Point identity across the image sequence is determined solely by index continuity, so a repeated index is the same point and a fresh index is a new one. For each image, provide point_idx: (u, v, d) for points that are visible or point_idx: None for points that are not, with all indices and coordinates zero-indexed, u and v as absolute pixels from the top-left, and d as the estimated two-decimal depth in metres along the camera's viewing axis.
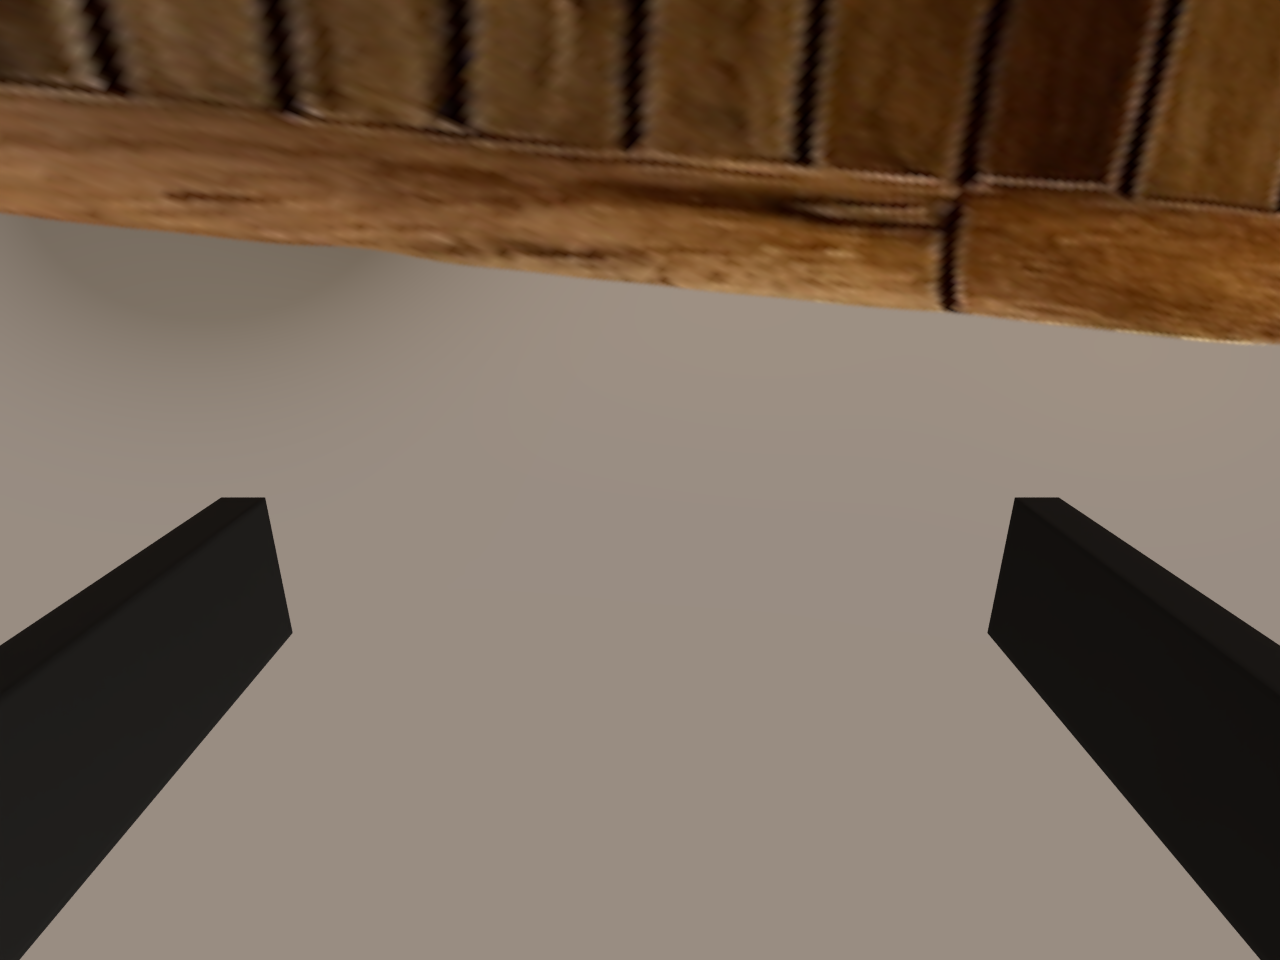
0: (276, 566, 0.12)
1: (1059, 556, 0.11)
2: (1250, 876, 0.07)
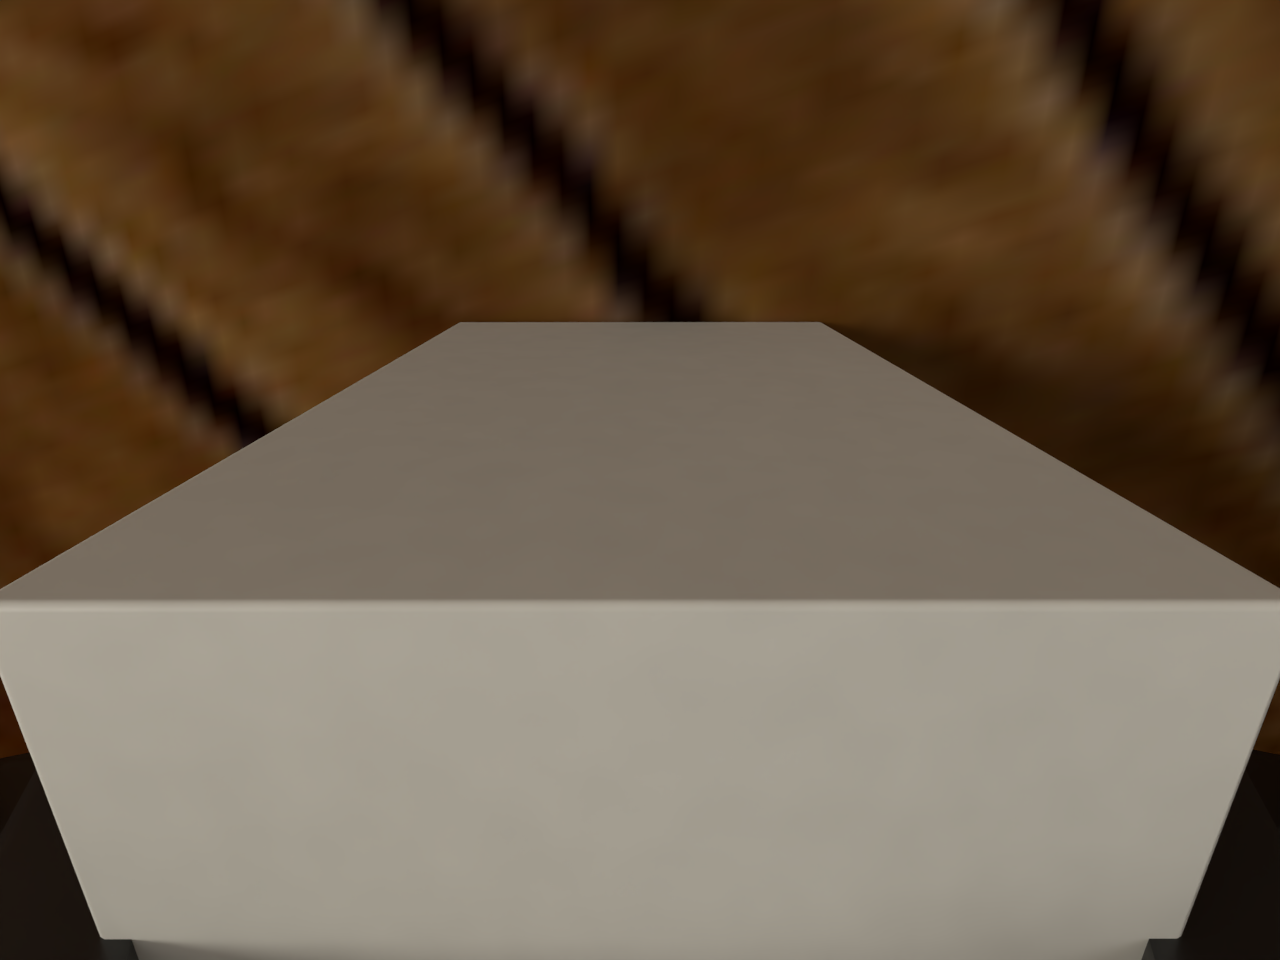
0: None
1: None
2: None
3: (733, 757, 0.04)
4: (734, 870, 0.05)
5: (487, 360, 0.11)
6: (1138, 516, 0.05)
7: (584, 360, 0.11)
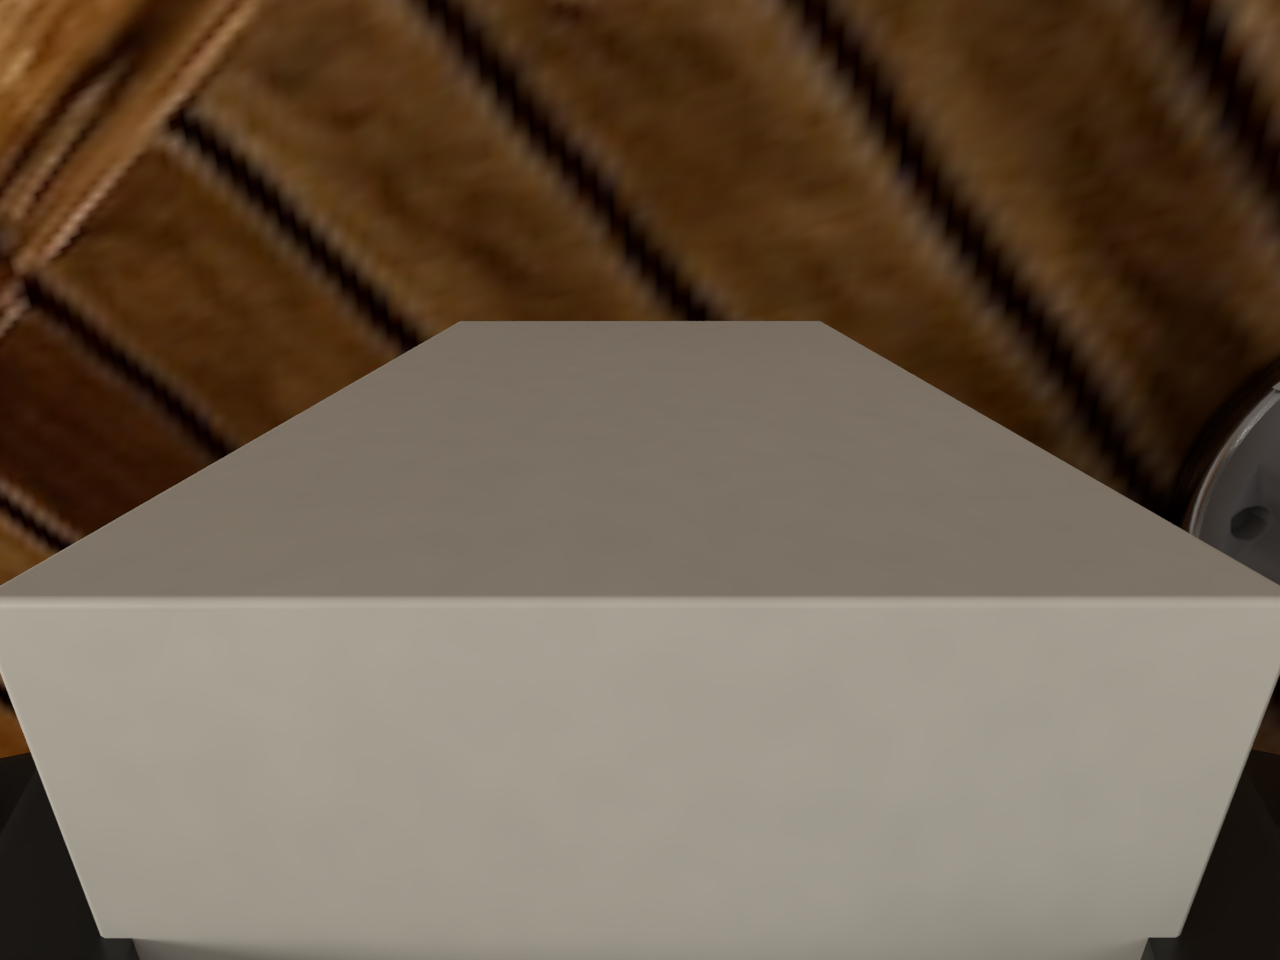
0: None
1: None
2: None
3: (733, 752, 0.04)
4: (734, 867, 0.05)
5: (487, 358, 0.11)
6: (1137, 513, 0.05)
7: (584, 359, 0.11)
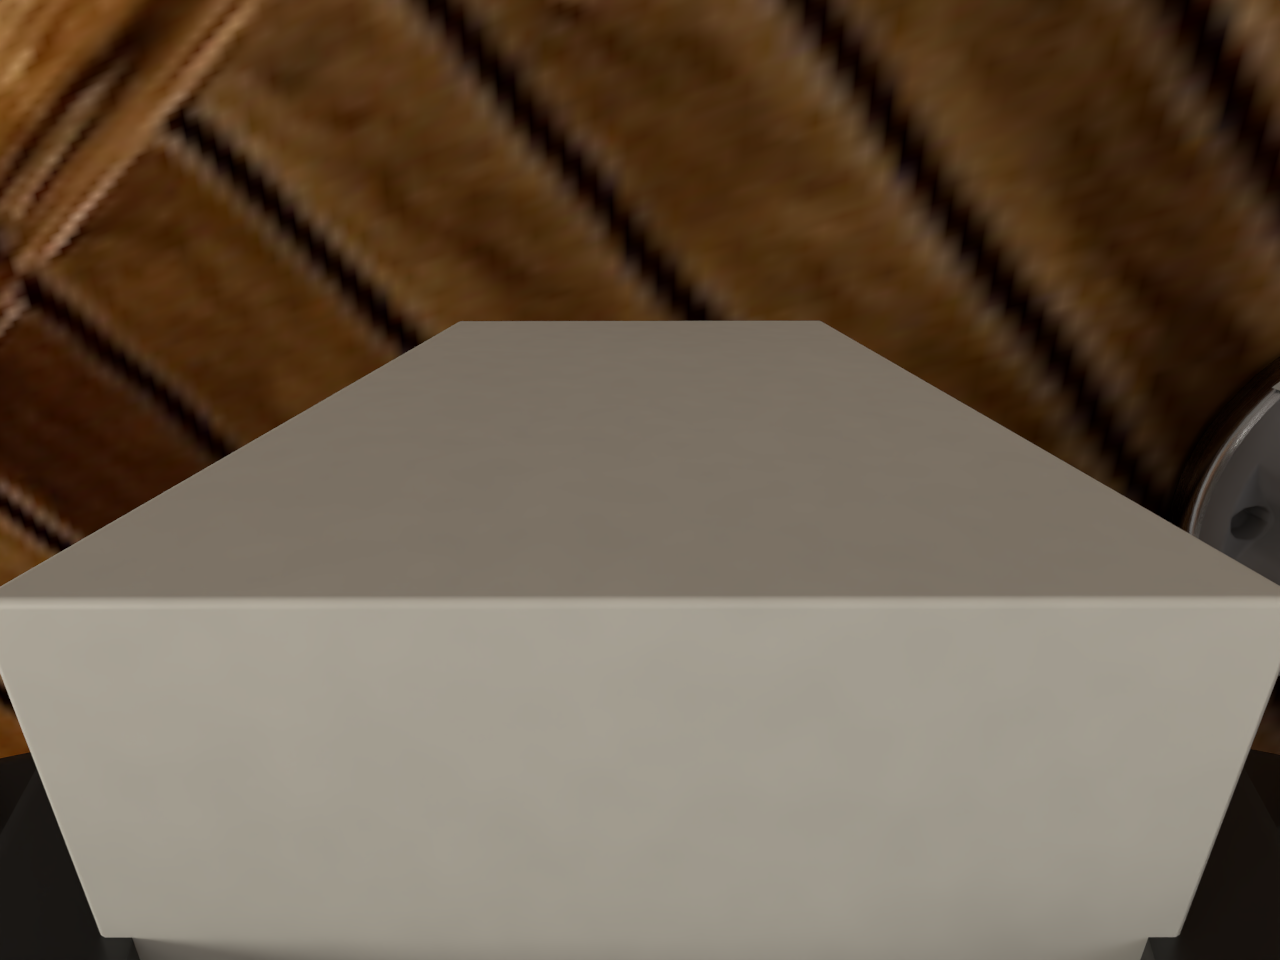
0: None
1: None
2: None
3: (733, 753, 0.04)
4: (731, 868, 0.05)
5: (487, 359, 0.11)
6: (1136, 513, 0.05)
7: (584, 359, 0.11)
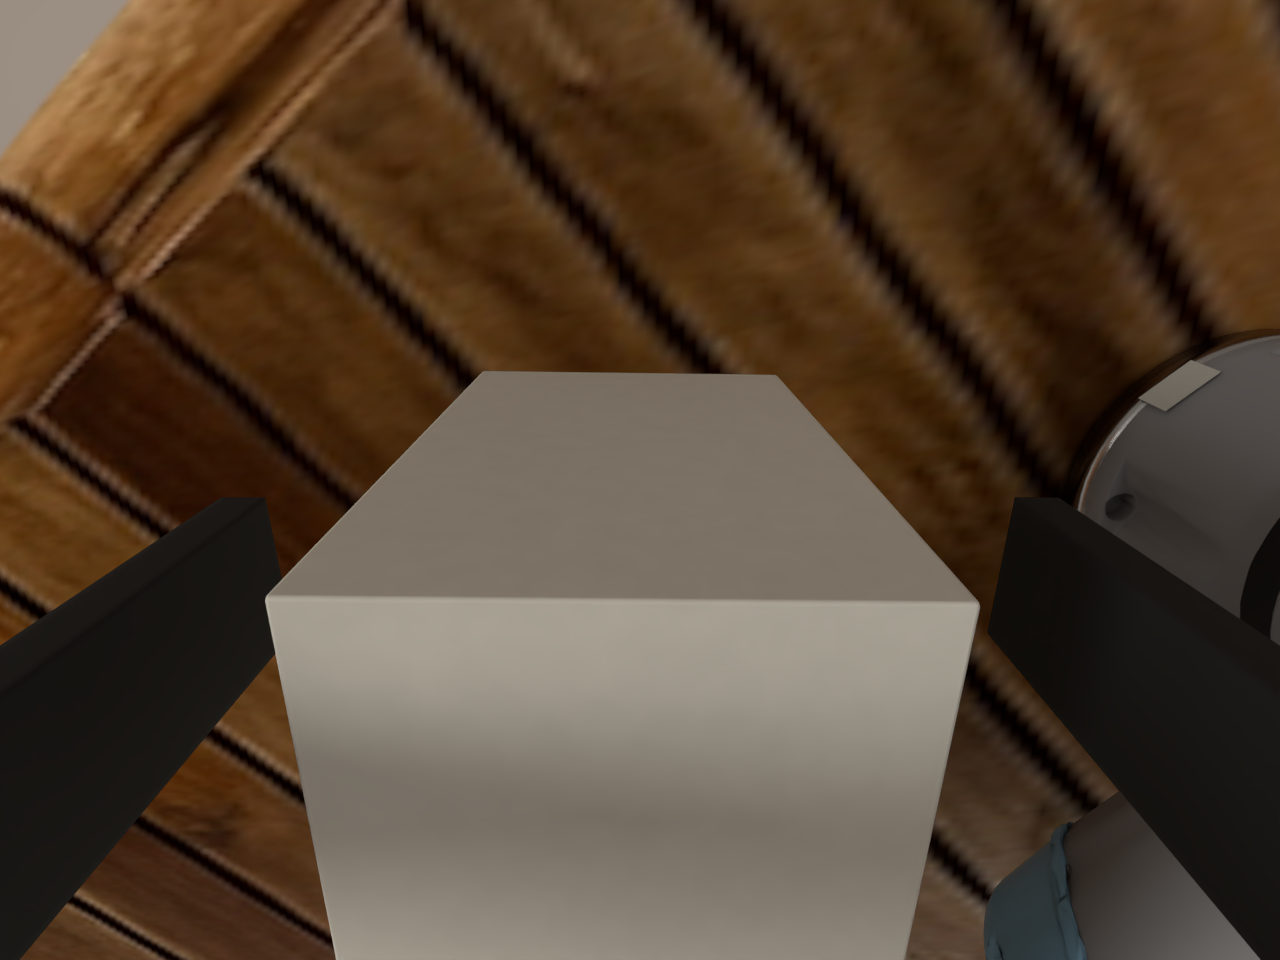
0: (275, 566, 0.12)
1: (1059, 556, 0.11)
2: (1250, 876, 0.07)
3: (677, 685, 0.08)
4: (677, 754, 0.08)
5: (513, 414, 0.14)
6: (922, 551, 0.08)
7: (586, 415, 0.14)
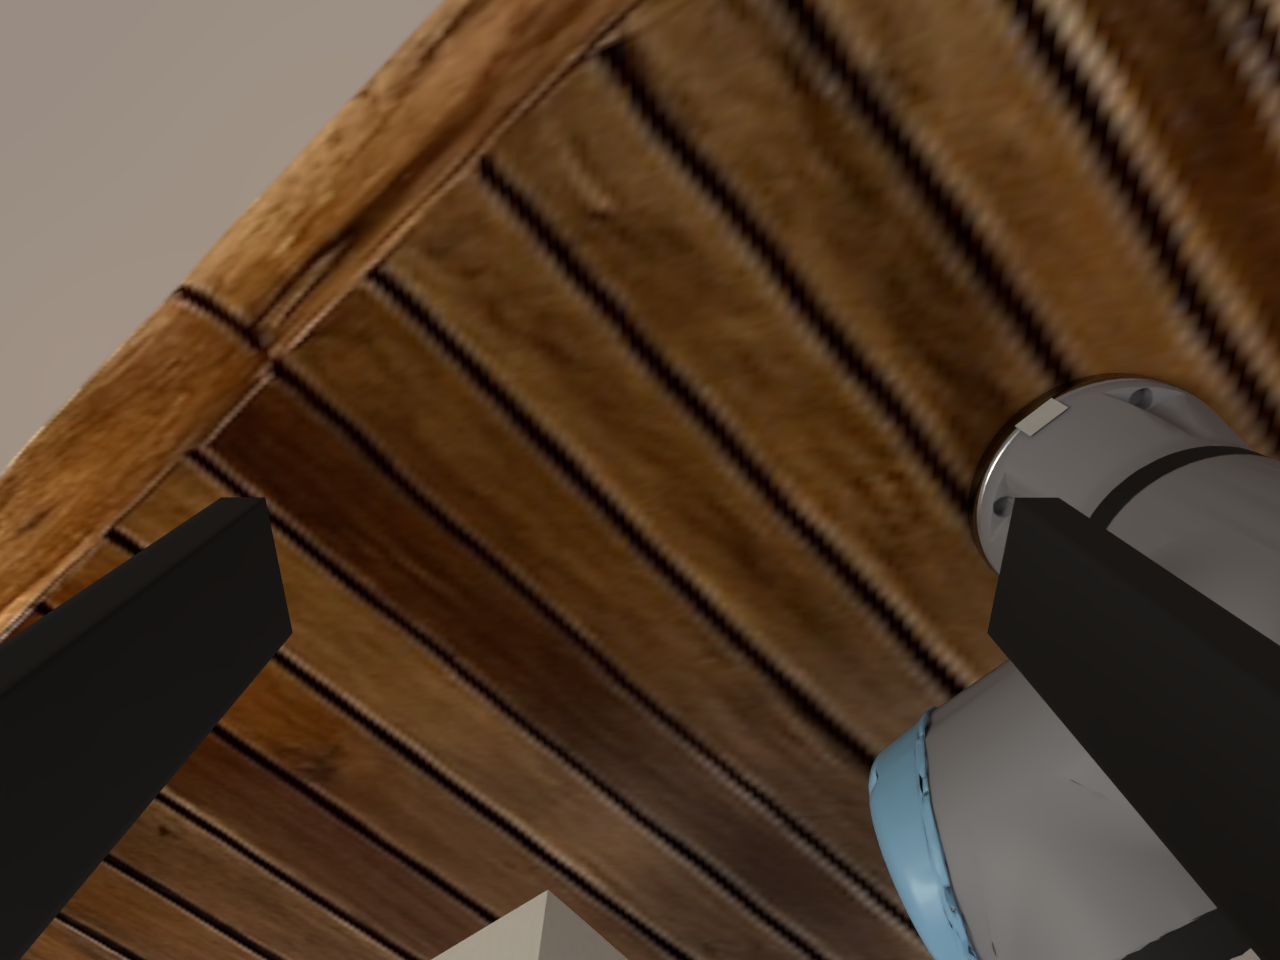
0: (275, 566, 0.12)
1: (1059, 556, 0.11)
2: (1250, 876, 0.07)
3: None
4: None
5: None
6: None
7: None
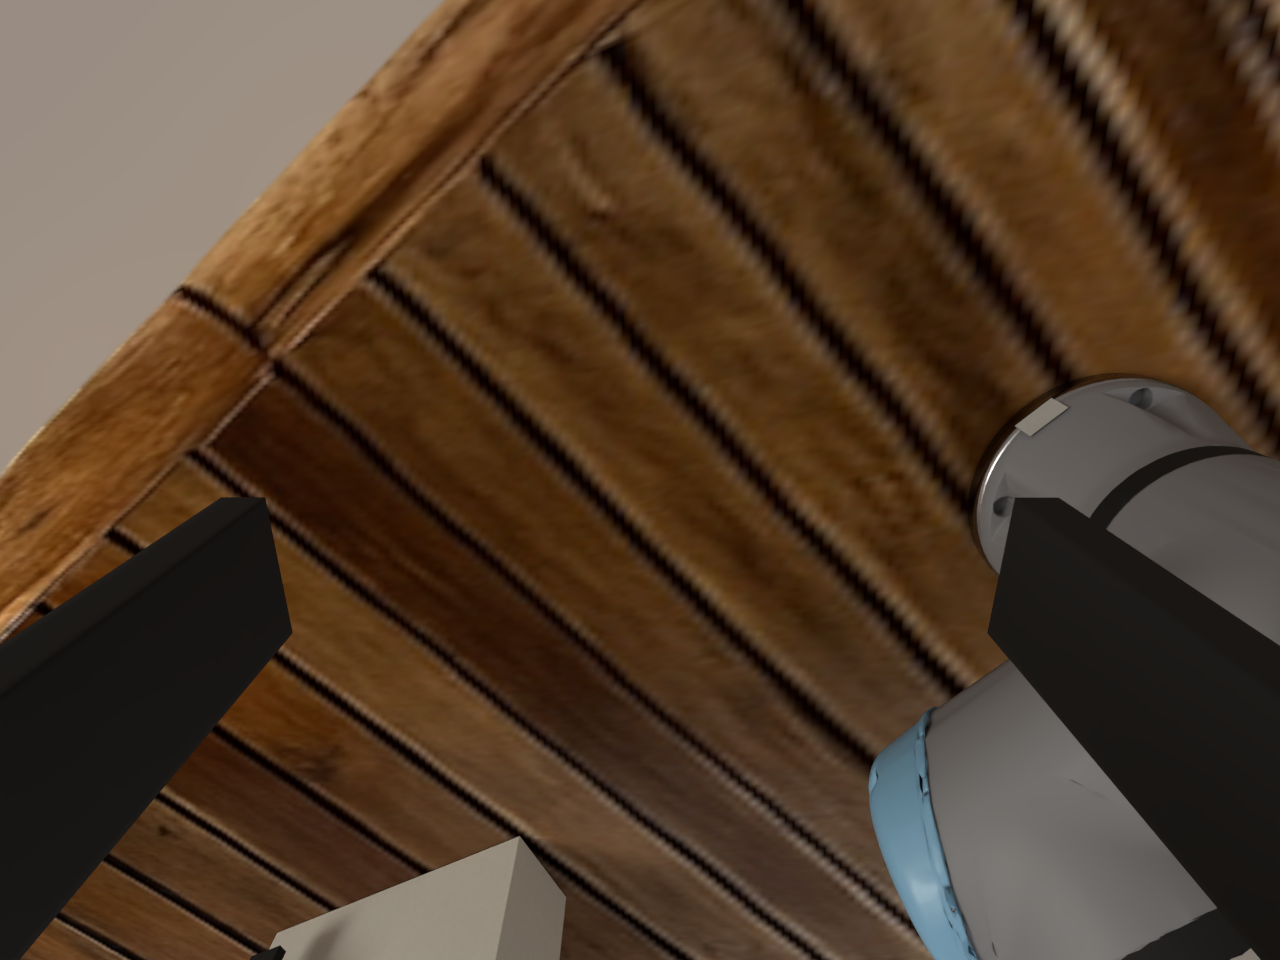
0: (275, 566, 0.12)
1: (1059, 556, 0.11)
2: (1250, 876, 0.07)
3: None
4: None
5: (520, 895, 0.52)
6: None
7: (530, 908, 0.52)
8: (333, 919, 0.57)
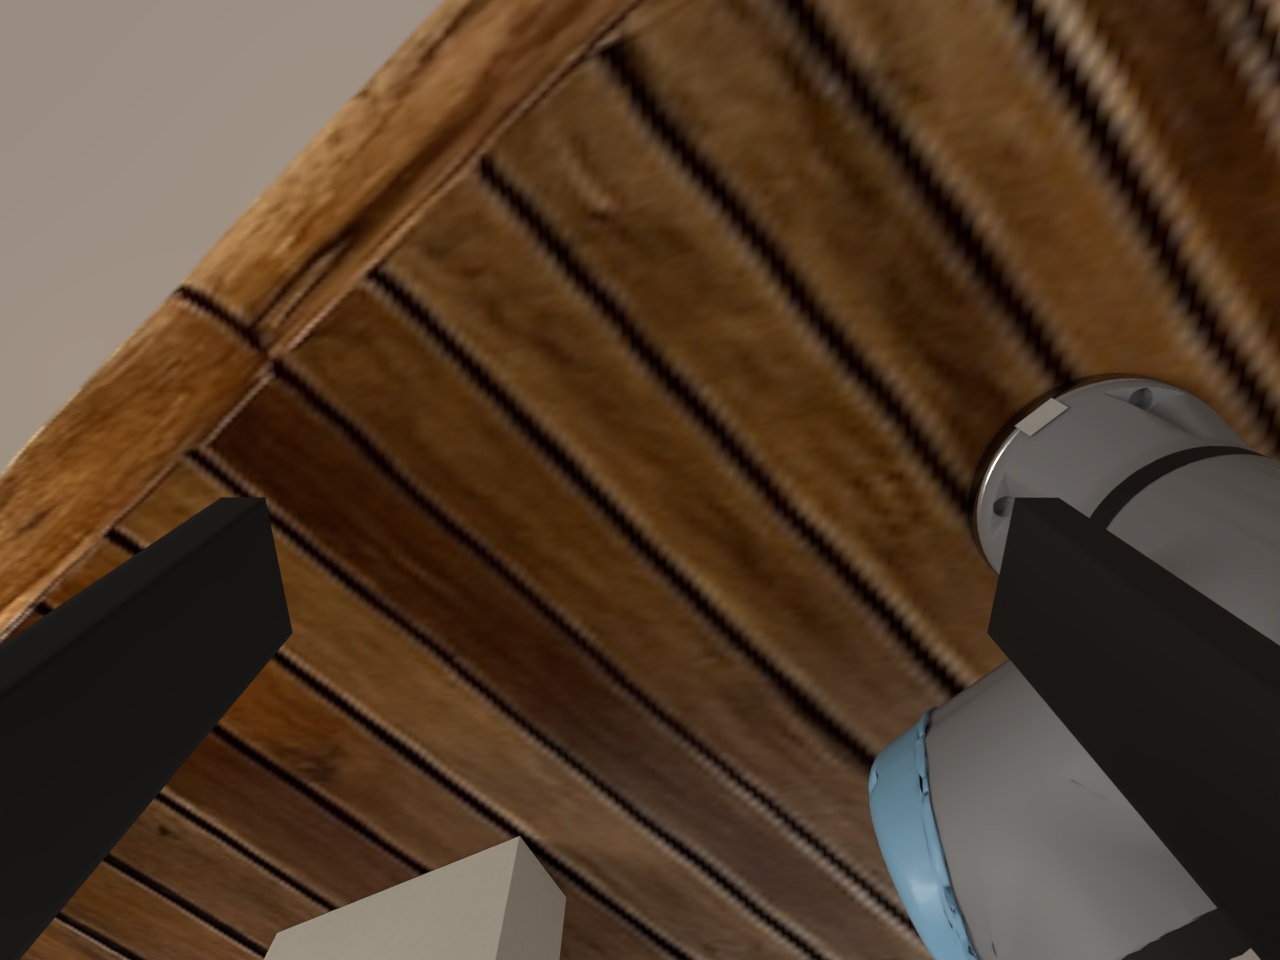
0: (275, 566, 0.12)
1: (1059, 556, 0.11)
2: (1250, 876, 0.07)
3: None
4: None
5: (520, 895, 0.52)
6: None
7: (530, 908, 0.52)
8: (333, 919, 0.57)
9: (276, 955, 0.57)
